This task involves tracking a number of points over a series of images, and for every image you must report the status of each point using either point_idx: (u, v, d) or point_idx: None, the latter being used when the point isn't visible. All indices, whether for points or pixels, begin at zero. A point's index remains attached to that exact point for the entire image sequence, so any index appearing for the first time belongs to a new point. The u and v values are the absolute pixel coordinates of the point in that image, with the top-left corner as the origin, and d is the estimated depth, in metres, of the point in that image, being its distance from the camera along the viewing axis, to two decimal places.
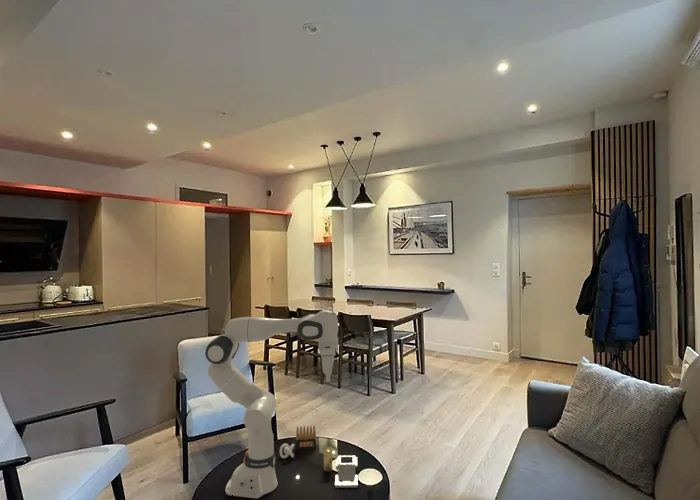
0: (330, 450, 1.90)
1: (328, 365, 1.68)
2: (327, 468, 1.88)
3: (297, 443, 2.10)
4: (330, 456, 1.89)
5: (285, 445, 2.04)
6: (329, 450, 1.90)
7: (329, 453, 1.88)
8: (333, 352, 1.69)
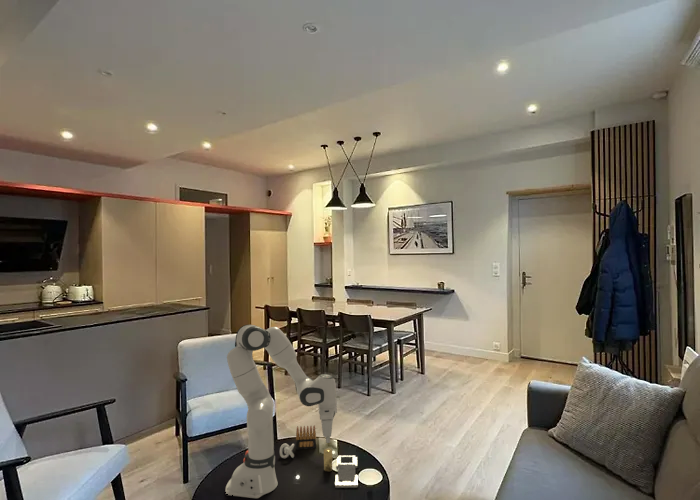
0: (330, 450, 1.90)
1: (328, 429, 1.80)
2: (327, 468, 1.88)
3: (297, 443, 2.10)
4: (330, 456, 1.89)
5: (285, 445, 2.04)
6: (329, 450, 1.90)
7: (329, 453, 1.88)
8: (332, 416, 1.82)
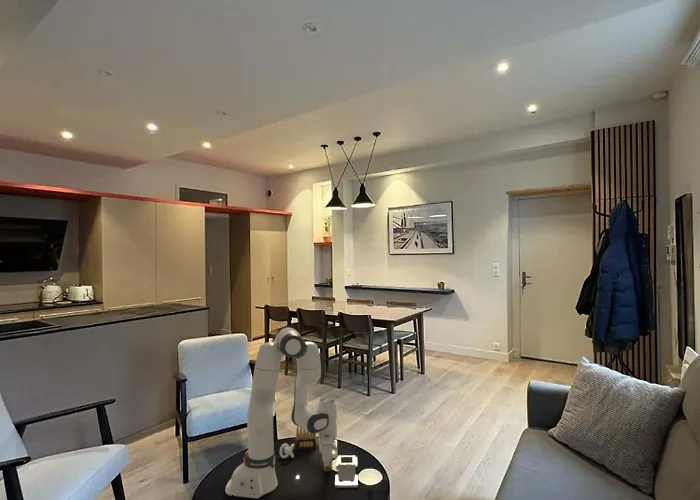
0: None
1: (327, 454, 1.80)
2: (327, 468, 1.88)
3: (297, 443, 2.10)
4: None
5: (285, 445, 2.04)
6: None
7: None
8: (332, 442, 1.82)
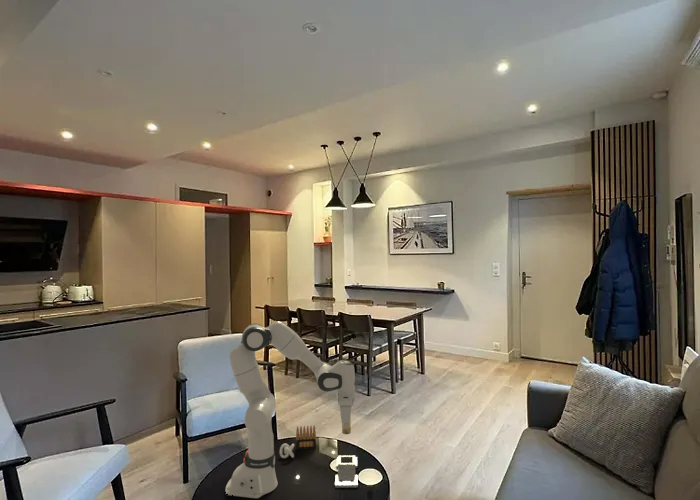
0: None
1: (346, 415, 1.77)
2: (345, 431, 1.85)
3: (297, 443, 2.10)
4: None
5: (285, 445, 2.04)
6: None
7: None
8: (351, 403, 1.79)
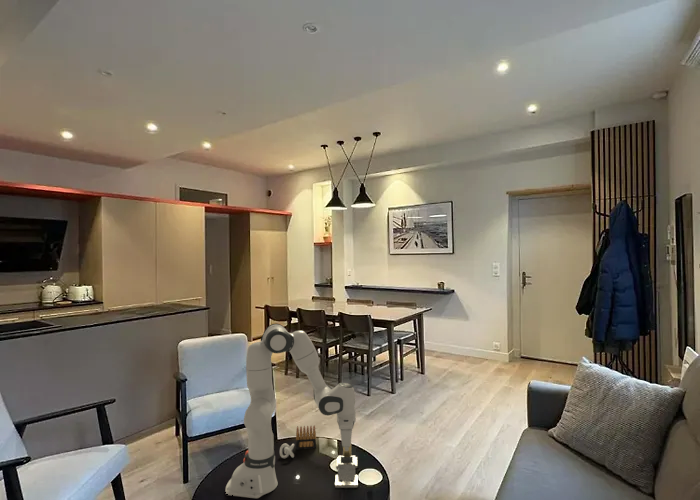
0: None
1: (347, 439, 1.77)
2: (346, 453, 1.85)
3: (297, 443, 2.10)
4: None
5: (285, 445, 2.04)
6: None
7: None
8: (351, 426, 1.79)
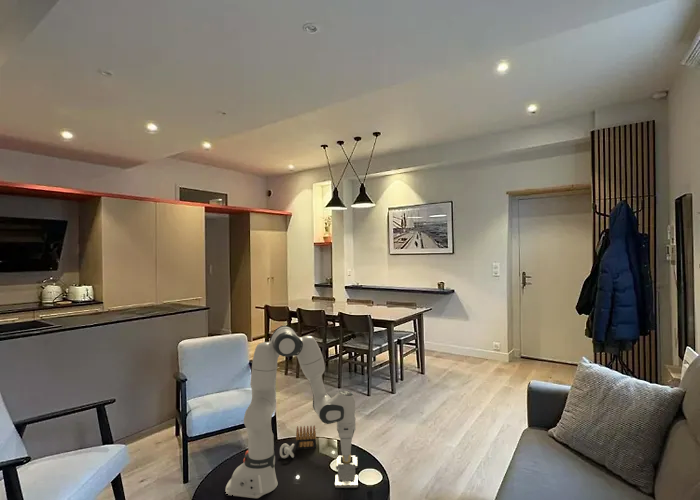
0: None
1: (347, 448, 1.77)
2: None
3: (297, 443, 2.10)
4: (349, 459, 1.85)
5: (285, 445, 2.04)
6: None
7: (348, 456, 1.85)
8: (351, 435, 1.79)
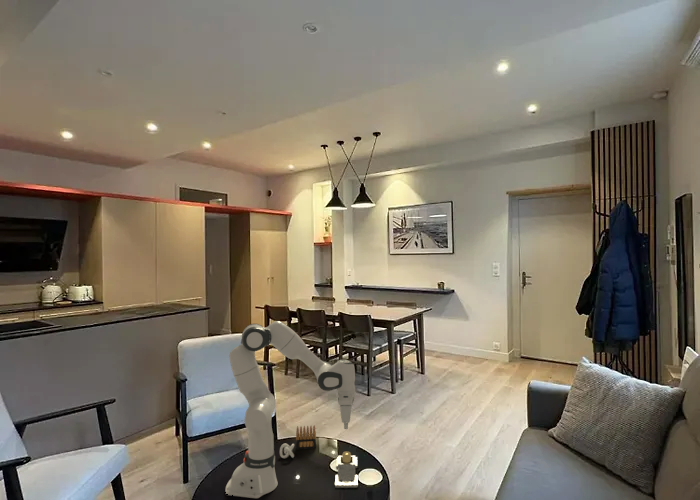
0: (349, 453, 1.87)
1: (347, 415, 1.77)
2: None
3: (297, 443, 2.10)
4: (349, 459, 1.85)
5: (285, 445, 2.04)
6: (347, 454, 1.87)
7: (348, 456, 1.85)
8: (351, 402, 1.79)
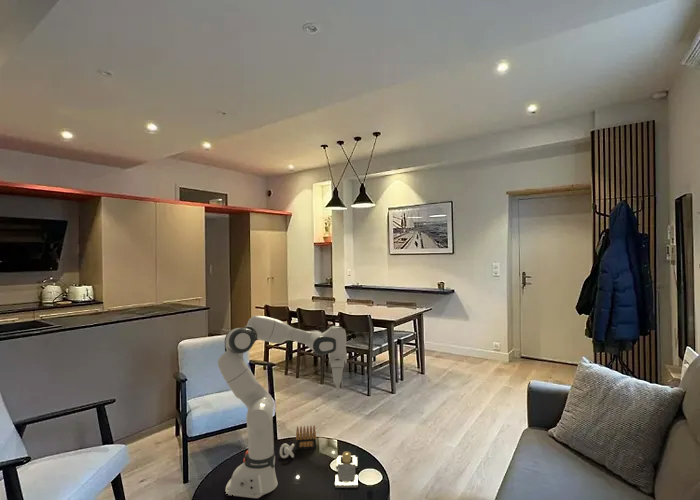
0: (349, 453, 1.87)
1: (338, 376, 1.87)
2: None
3: (297, 443, 2.10)
4: (349, 459, 1.85)
5: (285, 445, 2.04)
6: (347, 454, 1.87)
7: (348, 456, 1.85)
8: (342, 364, 1.89)
